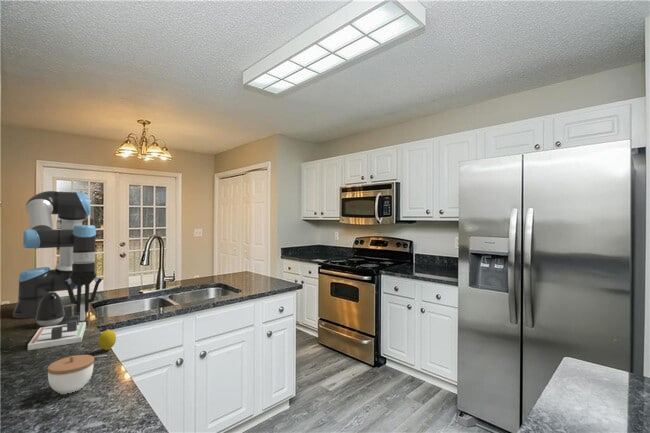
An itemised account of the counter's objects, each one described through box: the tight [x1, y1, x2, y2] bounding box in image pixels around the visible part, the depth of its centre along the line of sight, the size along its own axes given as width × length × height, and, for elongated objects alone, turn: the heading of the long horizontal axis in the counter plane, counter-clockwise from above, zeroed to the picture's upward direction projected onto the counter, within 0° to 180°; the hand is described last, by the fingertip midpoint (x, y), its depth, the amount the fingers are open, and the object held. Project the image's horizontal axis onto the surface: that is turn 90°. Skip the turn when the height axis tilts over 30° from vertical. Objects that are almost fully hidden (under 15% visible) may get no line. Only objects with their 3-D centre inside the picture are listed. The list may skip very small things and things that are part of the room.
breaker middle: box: [66, 320, 77, 331], centre depth 135 cm, size 3×3×4 cm
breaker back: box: [69, 314, 80, 325], centre depth 142 cm, size 3×3×4 cm
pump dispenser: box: [34, 291, 66, 327], centre depth 147 cm, size 10×10×15 cm
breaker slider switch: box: [51, 327, 62, 339], centre depth 126 cm, size 3×3×4 cm
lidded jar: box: [47, 354, 95, 395], centre depth 93 cm, size 11×11×9 cm
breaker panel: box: [27, 321, 87, 351], centre depth 133 cm, size 22×16×2 cm
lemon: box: [98, 328, 117, 351], centre depth 120 cm, size 6×6×8 cm
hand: (82, 319), depth 130 cm, fingers closed
